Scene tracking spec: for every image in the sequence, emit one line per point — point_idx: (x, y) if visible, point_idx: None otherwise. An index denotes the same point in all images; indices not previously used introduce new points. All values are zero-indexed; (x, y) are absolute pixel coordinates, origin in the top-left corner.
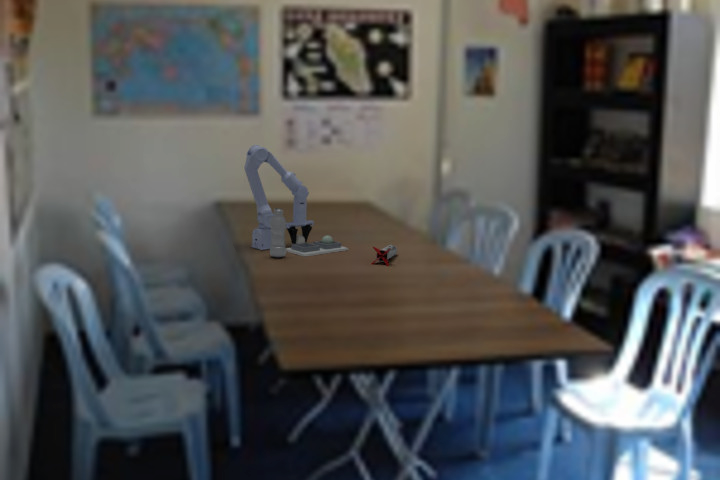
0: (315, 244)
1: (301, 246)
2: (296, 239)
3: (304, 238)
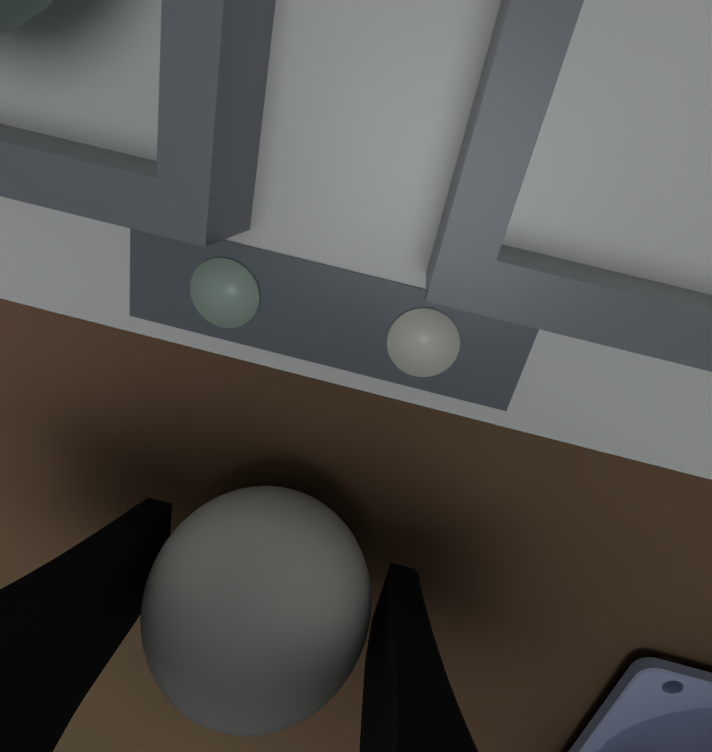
0: (240, 137)
1: (664, 288)
2: (359, 629)
3: (178, 559)
